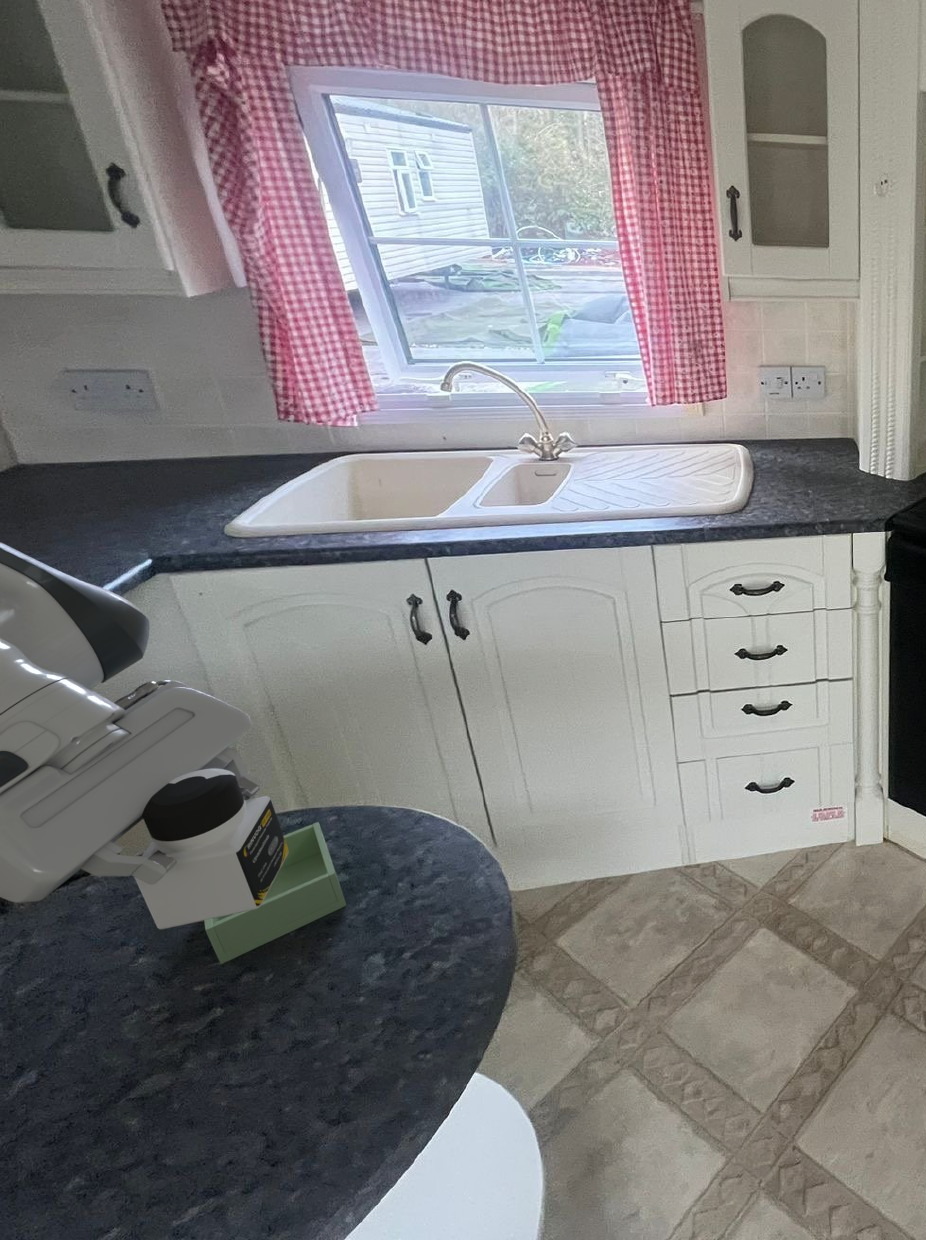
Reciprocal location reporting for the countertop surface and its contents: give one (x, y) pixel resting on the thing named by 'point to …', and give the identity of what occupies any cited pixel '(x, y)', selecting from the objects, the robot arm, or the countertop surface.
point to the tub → (283, 898)
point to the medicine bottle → (210, 848)
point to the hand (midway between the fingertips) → (212, 831)
